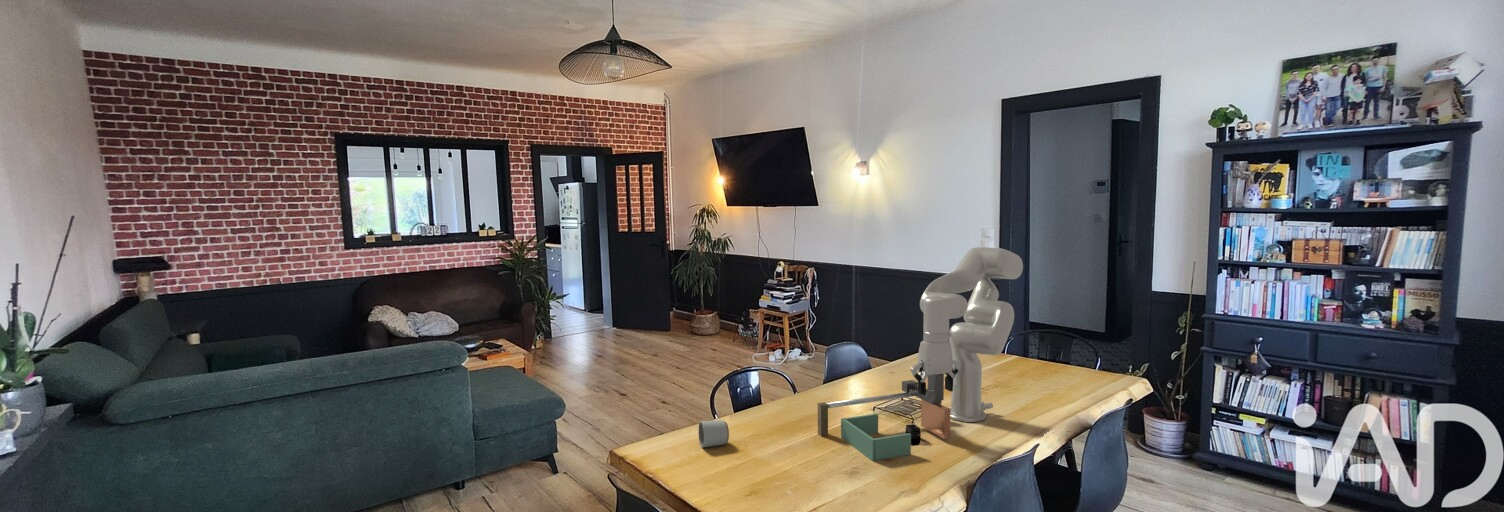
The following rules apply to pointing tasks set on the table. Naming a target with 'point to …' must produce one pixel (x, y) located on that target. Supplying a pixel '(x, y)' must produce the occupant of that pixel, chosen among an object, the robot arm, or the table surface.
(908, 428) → the black block
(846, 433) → the box
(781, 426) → the table surface
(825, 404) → the rod rail
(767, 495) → the table surface
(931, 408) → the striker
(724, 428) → the ceramic mug
